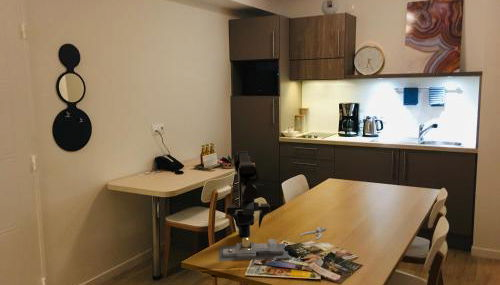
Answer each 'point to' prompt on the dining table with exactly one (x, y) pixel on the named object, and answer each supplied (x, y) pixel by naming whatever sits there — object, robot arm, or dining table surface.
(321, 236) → the pliers
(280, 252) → the grey slotted plate
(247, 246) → the brass pin
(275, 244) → the metal latch plate
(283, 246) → the gray rectangular board
